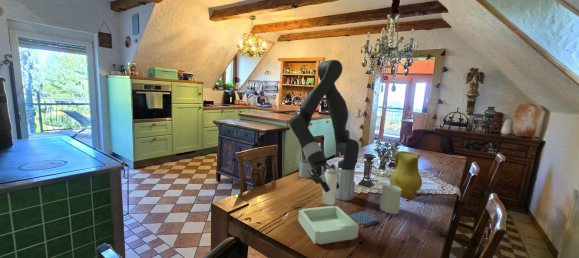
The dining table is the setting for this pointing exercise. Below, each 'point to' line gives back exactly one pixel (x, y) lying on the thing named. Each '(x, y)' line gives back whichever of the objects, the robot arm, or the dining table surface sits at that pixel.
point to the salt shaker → (330, 186)
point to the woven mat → (363, 218)
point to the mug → (304, 169)
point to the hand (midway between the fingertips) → (332, 189)
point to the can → (390, 199)
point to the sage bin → (327, 224)
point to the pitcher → (406, 173)
